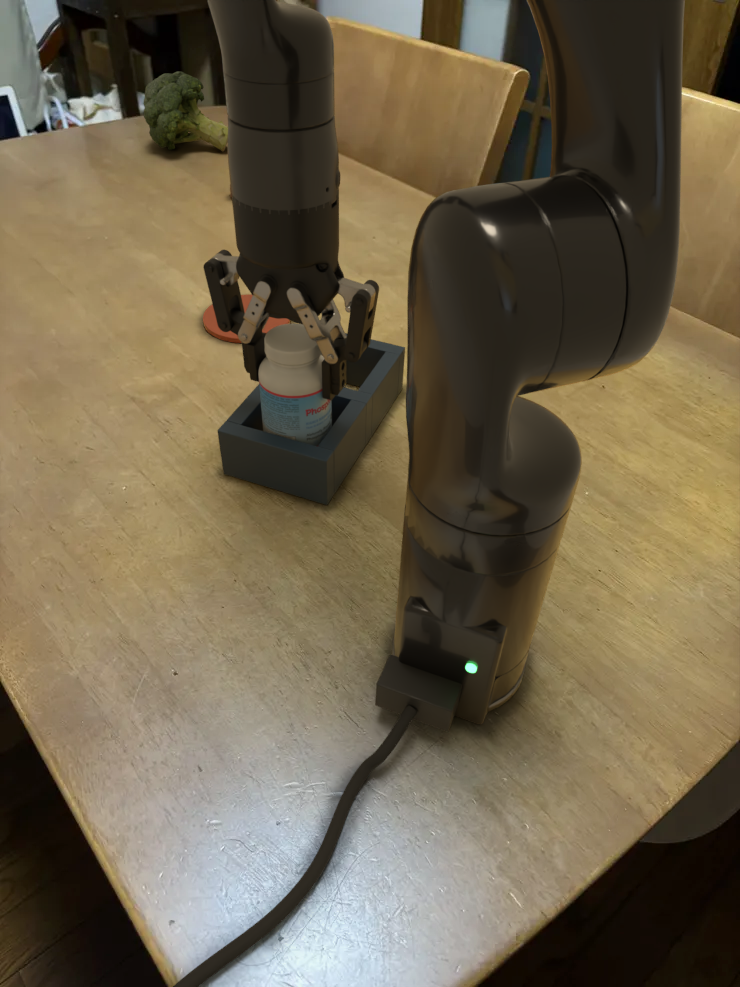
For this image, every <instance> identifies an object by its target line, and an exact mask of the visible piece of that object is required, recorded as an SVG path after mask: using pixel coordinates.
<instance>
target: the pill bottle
mask: <svg viewBox="0 0 740 987" xmlns="http://www.w3.org/2000/svg"><path fill="white" fill-rule="evenodd" d="M264 344H265V354H266V357H265V358H264V359H263V361H262V362H261V364H260V367H259V372H258V375H259V382H258V385H259V388H260V400H261V411H262V422H263V431H264V432H267V433H271V434H275V435H278V436H282V437H285V438H289V439H292V440H296V441H299V442H303V443H306V444H310V445H314V446H317V447H318V445H319V444H320V443H321V441H322V440H323V439H324V437H325V436H326V434H327V433H328V432H329V430H330V429H331V427H332V403H331V400H328V399H324V398H323V397H322V361H323V360H324V357H323V356H322V355H321V351H320V349H319V347H318V345H317V343H316V341H314V340H311V339H310V337H309V335H308V333H307V331H306V329H305V327H304V325H303V324H299V323H295V322H293V323H290V324H283V325H279V326H276V327H274V328H272V329H271V330H269V331H268V332H267V333H266V335H265V339H264Z"/></svg>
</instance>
